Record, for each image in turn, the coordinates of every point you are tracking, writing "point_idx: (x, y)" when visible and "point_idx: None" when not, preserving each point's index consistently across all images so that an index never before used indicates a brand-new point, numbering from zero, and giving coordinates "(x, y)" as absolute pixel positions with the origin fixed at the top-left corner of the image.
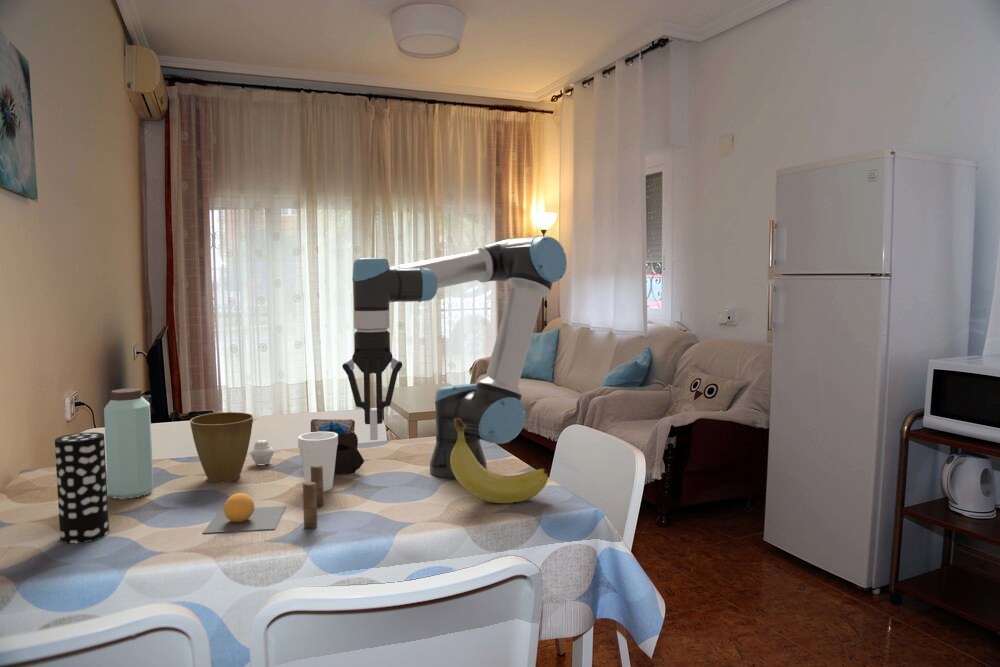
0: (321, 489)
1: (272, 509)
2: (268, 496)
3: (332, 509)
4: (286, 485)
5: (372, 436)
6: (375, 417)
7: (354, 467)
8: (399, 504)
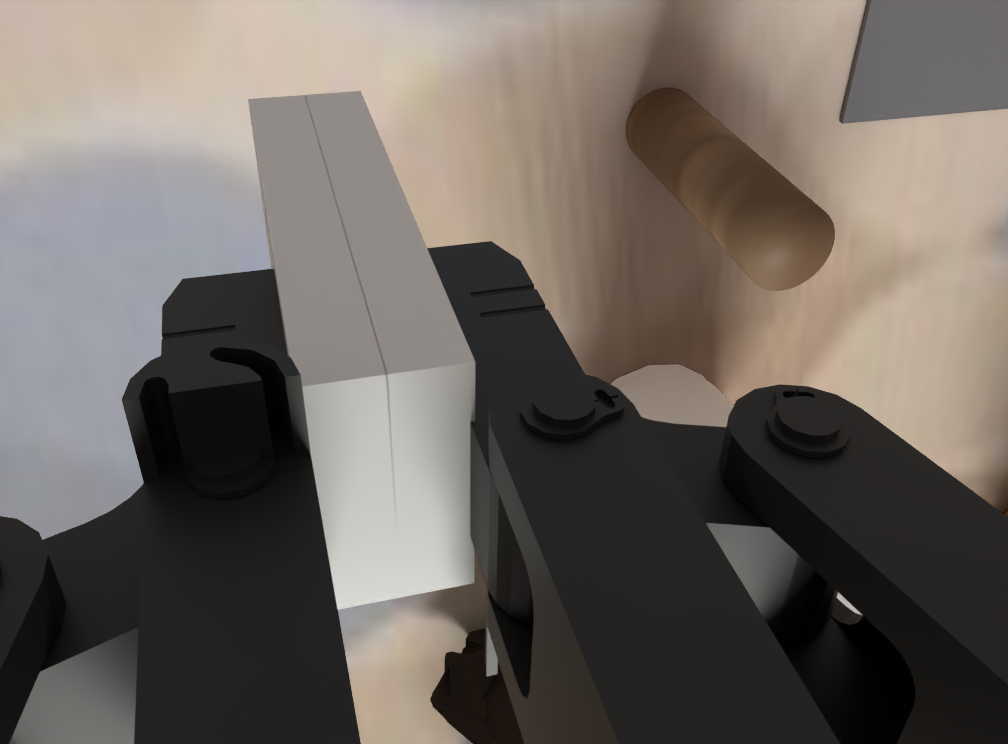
0: (684, 150)
1: (918, 66)
2: (902, 301)
3: (569, 44)
4: None
5: (333, 114)
6: (312, 282)
7: (477, 651)
8: (83, 106)
